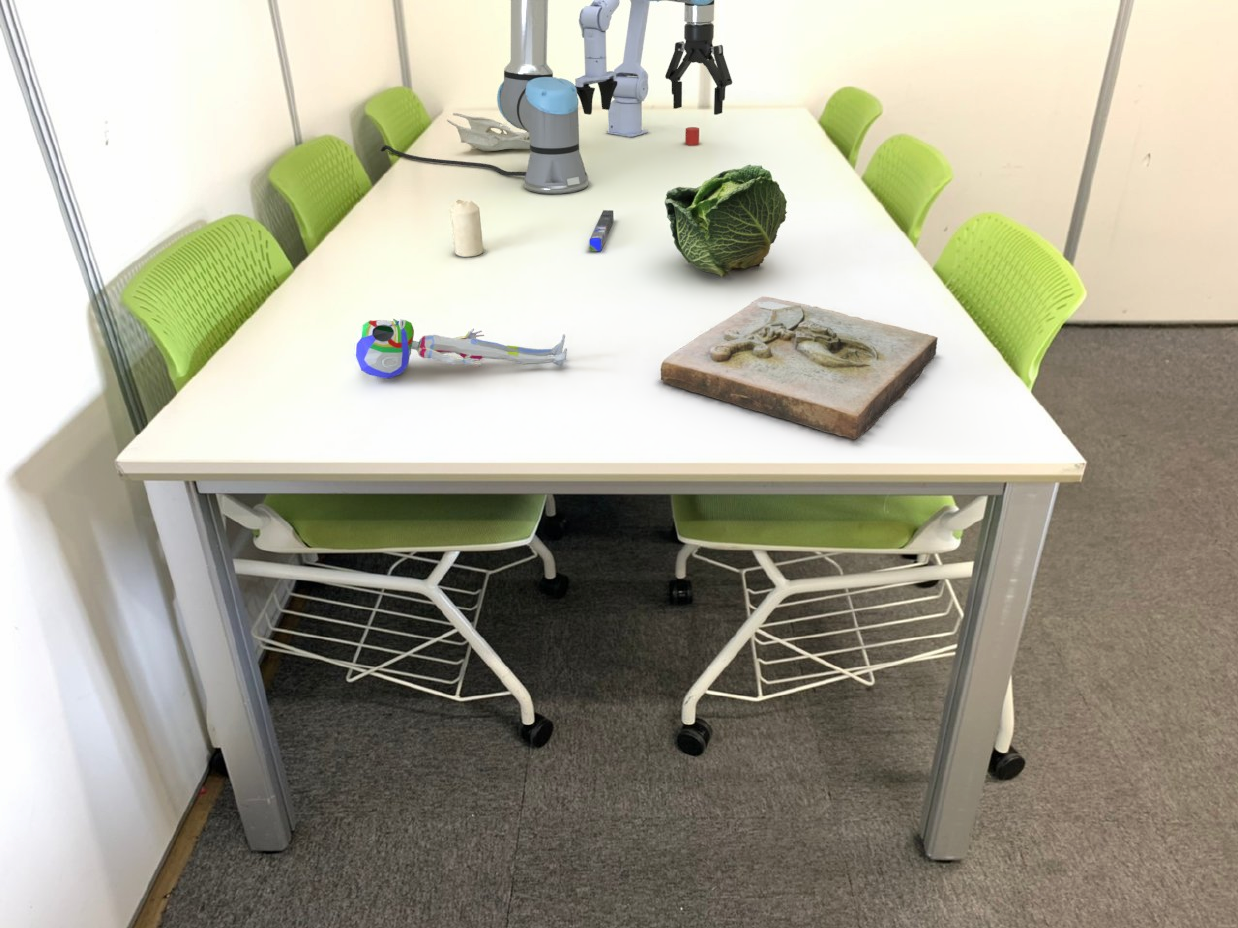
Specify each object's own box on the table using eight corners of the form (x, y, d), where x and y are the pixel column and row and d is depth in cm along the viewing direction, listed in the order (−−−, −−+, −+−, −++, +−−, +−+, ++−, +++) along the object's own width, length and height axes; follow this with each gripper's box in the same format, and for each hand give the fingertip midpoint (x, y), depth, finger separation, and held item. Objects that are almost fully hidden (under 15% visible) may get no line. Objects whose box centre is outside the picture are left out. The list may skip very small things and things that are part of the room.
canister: (683, 144, 249) (683, 129, 247) (688, 141, 252) (688, 126, 250) (696, 146, 248) (696, 130, 246) (700, 143, 251) (701, 127, 248)
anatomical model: (457, 110, 251) (543, 108, 247) (461, 144, 256) (546, 143, 252) (440, 121, 238) (531, 120, 235) (445, 157, 243) (534, 156, 240)
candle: (488, 249, 176) (483, 198, 171) (475, 258, 172) (470, 206, 167) (463, 246, 178) (457, 196, 173) (450, 255, 174) (443, 204, 168)
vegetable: (694, 294, 173) (643, 202, 166) (775, 239, 175) (728, 145, 167) (734, 307, 155) (678, 205, 147) (824, 245, 156) (773, 141, 149)
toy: (569, 347, 126) (349, 329, 122) (563, 400, 131) (350, 385, 126) (565, 318, 135) (359, 301, 130) (559, 369, 139) (360, 354, 134)
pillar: (613, 210, 190) (600, 241, 173) (613, 220, 191) (600, 251, 174) (603, 210, 190) (589, 240, 173) (603, 220, 191) (589, 251, 174)
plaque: (865, 393, 108) (658, 335, 123) (857, 444, 112) (657, 381, 127) (948, 314, 129) (763, 273, 144) (939, 359, 133) (759, 314, 148)
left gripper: (748, 24, 224) (744, 113, 235) (670, 18, 238) (670, 103, 249) (730, 28, 219) (727, 119, 230) (652, 22, 233) (652, 108, 245)
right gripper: (589, 62, 229) (590, 118, 236) (624, 55, 238) (625, 109, 245) (568, 59, 232) (570, 115, 240) (604, 53, 242) (605, 106, 249)
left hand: (697, 111), depth 240 cm, fingers open, 13 cm apart
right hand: (596, 111), depth 243 cm, fingers open, 7 cm apart
